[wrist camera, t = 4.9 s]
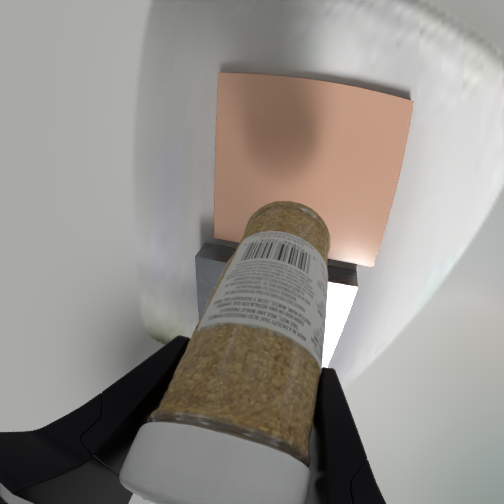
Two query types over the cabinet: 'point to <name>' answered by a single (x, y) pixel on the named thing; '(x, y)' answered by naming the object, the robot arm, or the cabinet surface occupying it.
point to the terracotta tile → (309, 156)
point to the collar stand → (338, 297)
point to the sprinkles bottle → (245, 376)
